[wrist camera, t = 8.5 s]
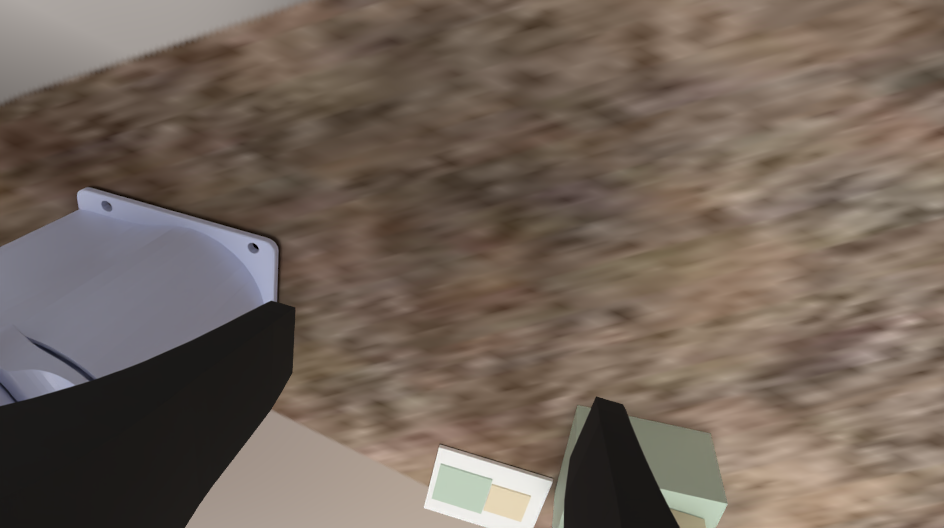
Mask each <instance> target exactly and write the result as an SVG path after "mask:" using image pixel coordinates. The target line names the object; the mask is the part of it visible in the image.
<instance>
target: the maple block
mask: <svg viewBox="0 0 944 528" xmlns="http://www.w3.org/2000/svg"><path fill="white" fill-rule="evenodd" d="M670 510H671V512H672V514H673V515H674V517H675V519H676V521H677V523H678V525H679V526H680V528H706V525H705V519H702V518H699V517H695V516H692V515H689V514H686V513H683V512H680V511H677V510H673V509H670Z"/></svg>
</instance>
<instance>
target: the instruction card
mask: <svg viewBox="0 0 944 528" xmlns="http://www.w3.org/2000/svg"><path fill="white" fill-rule="evenodd" d="M552 482H553V479H552V478H549V477H546V476H542V475H539V474H536V473H532V472H529V471H526V470H523V469H519V468H516V467H513V466H509V465H506V464H503V463H500V462H496V461H493V460H490V459H486V458H483V457H480V456H477V455H473V454H470V453H467V452H463V451H460V450H457V449H454V448H450V447H447V446H444V445H441V444H440V446H439V449H438V453H437V457H436V461H435V465H434V469H433V473H432V477H431V481H430V485H429V489H428V493H427V497H426V501H425V505H424V508H426V509H429V510H432V511H435V512H438V513H442V514H445V515H448V516H451V517H454V518H457V519H461V520H464V521H467V522H470V523H473V524H477V525H480V526H483V527H486V528H533V527H534V525H535V523H536V520H537V518H538V515H539V513H540V511H541V508H542V506H543V504H544V501H545V499H546V497H547V494H548V492H549V489H550V487H551V485H552Z"/></svg>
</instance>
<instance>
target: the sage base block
mask: <svg viewBox="0 0 944 528" xmlns="http://www.w3.org/2000/svg"><path fill="white" fill-rule="evenodd" d="M590 410H591V408H589V407H584V406H579V405H577V409H576V413H575V417H574V420H573V424H572V428H571V432H570V436H569V440H568V443H567V447H566V451H565V455H564V459H563V462H562V466H561V470H560V474H559V478H558V481H557V485H556V489H555V497H554V510H553V523H552V528H564V498H565V489H566V481H567V474H568V467H569V460H570V456H571V454H572V451H573V449H574V447H575V444H576V442H577V440H578V437H579V435H580V433H581V430H582V428H583V426H584V424H585V421H586V419H587V417H588V414H589V412H590ZM628 417H629V419H630V422H631V424H632V427H633V429H634V432H635V434H636V437H637V439H638V441H639V444H640V446H641V448H642V451H643V453H644V455H645V458H646V460H647V462H648V464H649V467H650V469H651V471H652V473H653V475H654V477H655V479H656V482H657V484H658V486H659V488H660V490H661V492H662V494H663V496H664V498H665V500H666V502H667V504H668V506H669V508H670V509H673V510H677V511H680V512H683V513H686V514H689V515H692V516H695V517H699V518H702V519H705V525H706V528H716V526H717V524H718V522H719V520H720V518H721V516H722V514H723V512H724V510H725V508H726V506H727V504H728V503H727V499H726V495H725V491H724V487H723V483H722V479H721V474H720V470H719V466H718V462H717V458H716V454H715V450H714V446H713V441H712V437H711V433H707V432H702V431H697V430H693V429H688V428H683V427H678V426H674V425H669V424H664V423H660V422H655V421H650V420H645V419H641V418H636V417H631V416H628Z"/></svg>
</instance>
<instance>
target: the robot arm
mask: <svg viewBox="0 0 944 528" xmlns="http://www.w3.org/2000/svg"><path fill="white" fill-rule="evenodd" d="M77 200H78V206H79V210H77V211H75V212H73V213H70V214H68V215H66V216H64V217H62V218H60V219H58V220H56V221H54V222H52V223H50V224H47V225H45V226H43V227H41V228H39V229H37V230H35V231H33V232H31V233H29V234H27V235H24V236H22V237H20V238H18V239H16V240H14V241H12V242H10V243H8V244H6V245H3V246H1V247H0V528H185V527H186V525H187V523H188V522H189V520H190V519H191V517H192V515H193V514H194V512H195V511H196V509H197V507H198V506H199V504H200V503H201V502H202V500H203V499H204V497H205V496H206V494H207V493H208V492H209V490H210V489H211V487H212V486H213V485H214V483H215V482H216V481H217V480H218V478H219V477H220V476H221V474H222V473H223V472H224V470H225V469H226V468H227V467H228V465H229V464H230V463H231V461H232V460H233V459H234V457H235V456H236V455H237V454H238V452H239V451H240V450H241V448H242V447H243V446H244V445H245V443H246V442H247V441H248V439H249V438H250V437H251V435H252V434H253V433H254V431H255V430H256V429H257V428H258V426H259V425H260V424H261V422H262V421H263V419H264V418H265V417H266V416H267V414H268V413H269V412H270V410H271V409H272V407H273V405H274V404H275V402H276V400H277V399H278V397H279V395H280V394H281V392H282V390H283V389H284V387H285V385H286V383H287V381H288V380H289V378H290V376H291V374H292V368H293V347H294V327H295V307H291V306H288V305H285V304H281V303H278V302H277V286H278V252H279V251H278V246H277V245H276V243H275V242H274V241H273V240H271V239H269V238H266V237H263V236H259V235H256V234H252V233H249V232H245V231H242V230H238V229H235V228H231V227H228V226H224V225H221V224H217V223H214V222H210V221H207V220H203V219H200V218H196V217H192V216H189V215H185V214H182V213H178V212H175V211H171V210H168V209H164V208H161V207H157V206H154V205H150V204H147V203H143V202H140V201H136V200H133V199H129V198H126V197H122V196H119V195H115V194H112V193H108V192H105V191H101V190H97V189H94V188H90V187H86V188H84V189H82V190H80V191H78V193H77ZM108 202H109V203H110V204H111V206H112V207H111V206H110V205H109V203H108ZM253 243H254V244H256V245H257V246H258V248H259V249H256V248H255V247H254V246H253ZM564 528H680V526H679V525H678V523H677V521H676V519H675V517H674V515H673V514H672V512H671V510H670V508H669V506H668V504H667V502H666V500H665V498H664V496H663V494H662V492H661V490H660V488H659V486H658V484H657V482H656V479H655V477H654V475H653V473H652V471H651V469H650V467H649V464H648V462H647V460H646V458H645V455H644V453H643V451H642V448H641V446H640V444H639V441H638V439H637V437H636V434H635V432H634V429H633V427H632V424H631V422H630V419H629V417H628V414H627V412H626V409H625V407H624V406H623V404H620V403H616V402H613V401H609V400H606V399H603V398H599V397H596V398H595V400H594V403H593V405H592V407H591V410H590V412H589V414H588V417H587V419H586V421H585V424H584V426H583V428H582V430H581V433H580V435H579V437H578V440H577V442H576V444H575V447H574V449H573V451H572V454H571V456H570V460H569V467H568V474H567V481H566V489H565V498H564Z"/></svg>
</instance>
